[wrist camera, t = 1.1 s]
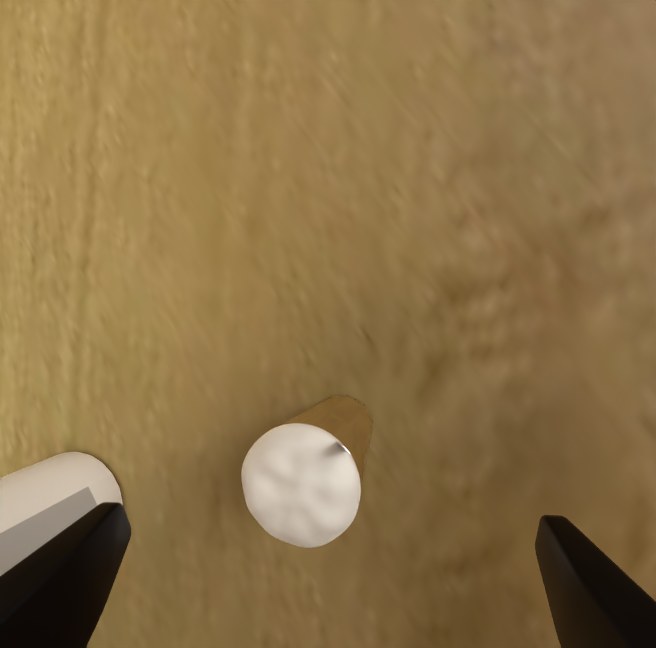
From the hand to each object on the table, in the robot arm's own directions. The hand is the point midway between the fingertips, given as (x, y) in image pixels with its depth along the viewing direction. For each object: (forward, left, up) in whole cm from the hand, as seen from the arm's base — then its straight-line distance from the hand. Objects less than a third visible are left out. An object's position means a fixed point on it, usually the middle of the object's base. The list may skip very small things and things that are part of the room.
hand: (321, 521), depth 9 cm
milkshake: (-2, +2, -14) cm, 15 cm away
